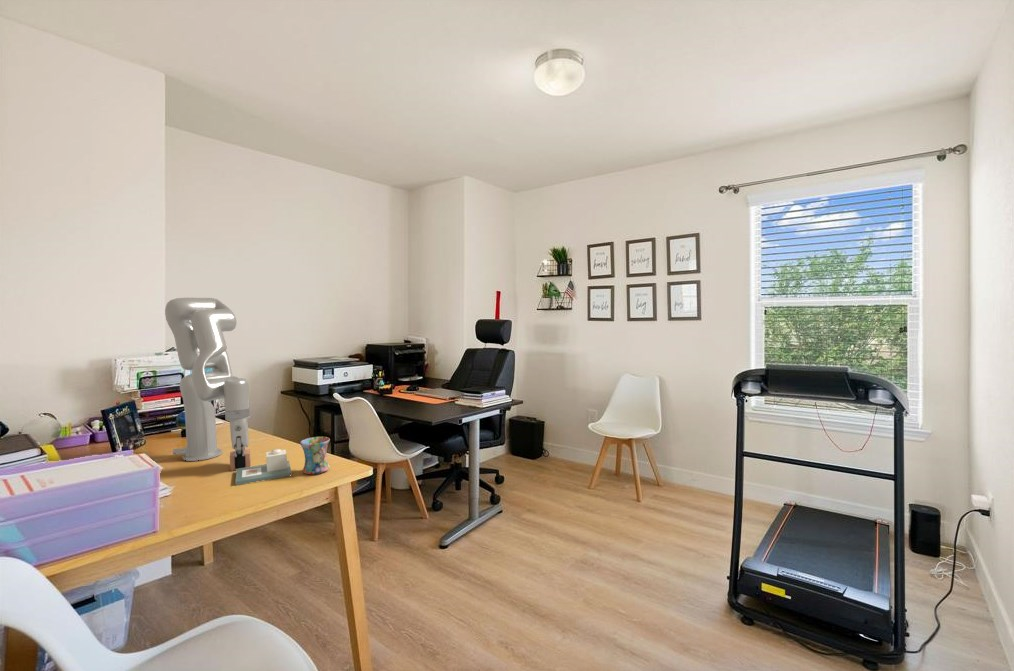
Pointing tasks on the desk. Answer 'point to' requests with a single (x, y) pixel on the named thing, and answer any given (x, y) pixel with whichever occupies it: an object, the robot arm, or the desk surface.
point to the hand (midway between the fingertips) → (240, 464)
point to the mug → (315, 455)
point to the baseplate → (266, 468)
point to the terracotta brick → (247, 459)
